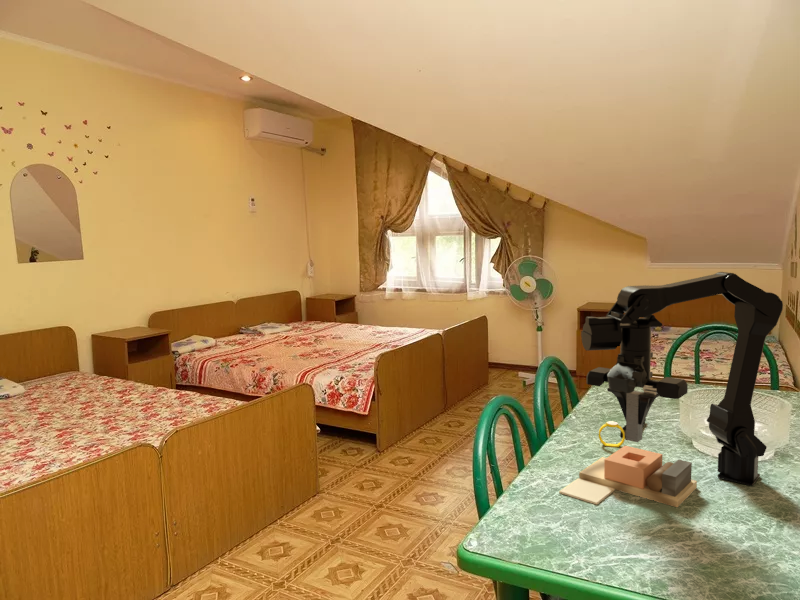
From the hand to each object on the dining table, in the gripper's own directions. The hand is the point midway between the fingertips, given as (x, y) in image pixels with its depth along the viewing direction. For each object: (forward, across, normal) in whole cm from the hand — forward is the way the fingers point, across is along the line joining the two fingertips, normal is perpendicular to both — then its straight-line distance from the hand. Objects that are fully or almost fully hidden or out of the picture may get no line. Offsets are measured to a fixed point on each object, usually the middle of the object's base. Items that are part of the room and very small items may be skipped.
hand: (634, 422), depth 120 cm
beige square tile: (+13, -5, -10) cm, 17 cm away
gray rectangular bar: (+4, 0, 0) cm, 4 cm away
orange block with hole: (+11, 0, 0) cm, 11 cm away
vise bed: (+13, +1, 0) cm, 13 cm away
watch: (+13, -12, +17) cm, 25 cm away
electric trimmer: (+14, -13, +31) cm, 36 cm away
